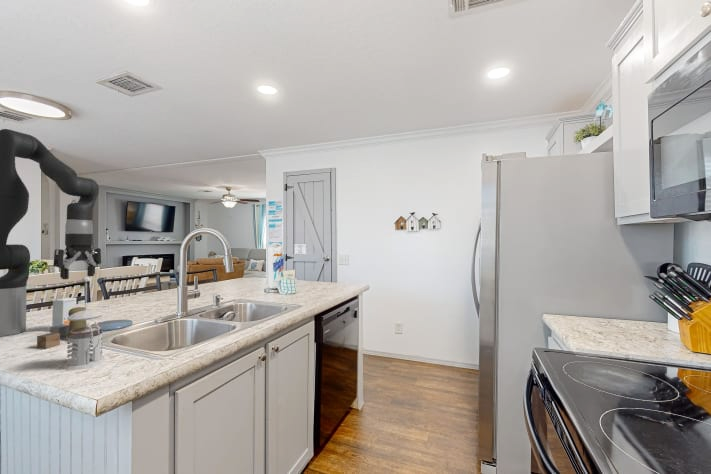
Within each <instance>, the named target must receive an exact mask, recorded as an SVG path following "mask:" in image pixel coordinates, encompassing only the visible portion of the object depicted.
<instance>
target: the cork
mask: <svg viewBox="0 0 711 474" xmlns="http://www.w3.org/2000/svg"><path fill="white" fill-rule="evenodd" d="M83 310H85V307H84V306H83V307H82V306H80V307H79V306H78V307H77V306H76V308H72V309H70V310H69V313H68V315H69V316H70V315H72V314H74V313H76V312H79V311H83ZM86 310H88V309H87V308H86ZM87 324H88V323H86V327H87ZM82 327H83V328H84V327H85V320H81V321H70V323H69V329H68V334H67V337H66V341H68V337H69V336H70V335H73V334H70V333H69V332H70V331H71V330H73V329H77V328H82Z"/></svg>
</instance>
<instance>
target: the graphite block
mask: <svg viewBox="0 0 711 474" xmlns="http://www.w3.org/2000/svg"><path fill="white" fill-rule="evenodd" d="M49 329H50V332H49V333H60V339H62V338H65V337H66V338H67V334H68V329H69V325H68V324H61V325H56V326H52V325H51V326H50V328H49Z"/></svg>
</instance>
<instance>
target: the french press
mask: <svg viewBox="0 0 711 474" xmlns="http://www.w3.org/2000/svg"><path fill="white" fill-rule="evenodd" d="M81 281H82V282H85V284H84V285H85V287H84V288H85V291H84V292H85V296H84V297H85V299H84V302H85V310H83V311H79V312H76V313H74V314H72V315H70V316H69V317H67V319H68V320H70V321H81V320H85V327H84V328H83V327H82V328H77V329H73V330H71V331H70V332H69V333H70V334H73V335H70V336H69V337H68V341H67V340H66V341H67V351H66V352H67V355H66V357H67V359H66V360H67V361H66V363H65V364H64V365H63V366H62V369H63V370H67V371H76V370H77V371H78V370H85V369H88V368H92V367H97V366H99V365H101V364H103V363H105V362H106V361H107V358H106V357H105V356H103V331H99V330H100V329H101V327H99V326H98V324H97V323H98V322H97V321H95V322H94V326H92V327H91V325H92V324H90V323H87V321H88V320H94V319H98V318H100V317H102V316H103V315H104V313H103V312H101V311H98V310H94V309H87V286H88V285H87V284H88V283H87V282H90V281H91V278H90V276H84V277H82V279H81ZM86 309H87V310H86ZM86 324H87V327H86ZM96 324H97V326H95V325H96ZM89 326H90V327H89ZM90 352H92V353H90Z"/></svg>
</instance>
